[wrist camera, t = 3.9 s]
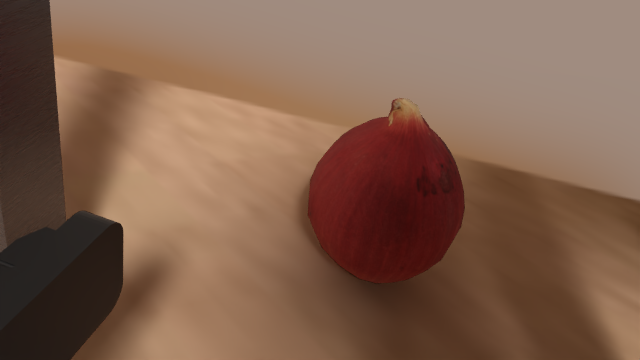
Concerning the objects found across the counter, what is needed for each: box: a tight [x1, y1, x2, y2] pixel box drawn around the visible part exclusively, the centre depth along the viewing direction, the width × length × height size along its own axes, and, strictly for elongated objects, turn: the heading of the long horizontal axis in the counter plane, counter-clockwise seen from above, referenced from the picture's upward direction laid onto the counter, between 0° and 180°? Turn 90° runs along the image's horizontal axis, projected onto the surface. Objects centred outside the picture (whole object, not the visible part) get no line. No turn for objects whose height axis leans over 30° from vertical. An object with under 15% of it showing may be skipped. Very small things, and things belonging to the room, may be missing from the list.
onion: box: [308, 98, 465, 283], centre depth 23 cm, size 6×6×8 cm
